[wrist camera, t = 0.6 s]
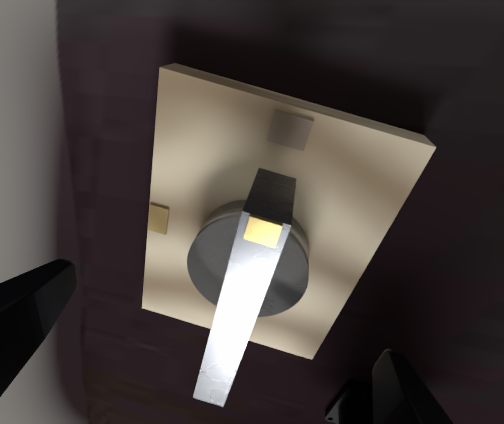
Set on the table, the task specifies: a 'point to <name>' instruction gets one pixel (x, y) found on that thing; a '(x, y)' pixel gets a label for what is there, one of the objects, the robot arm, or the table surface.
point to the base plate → (280, 161)
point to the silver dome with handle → (246, 273)
